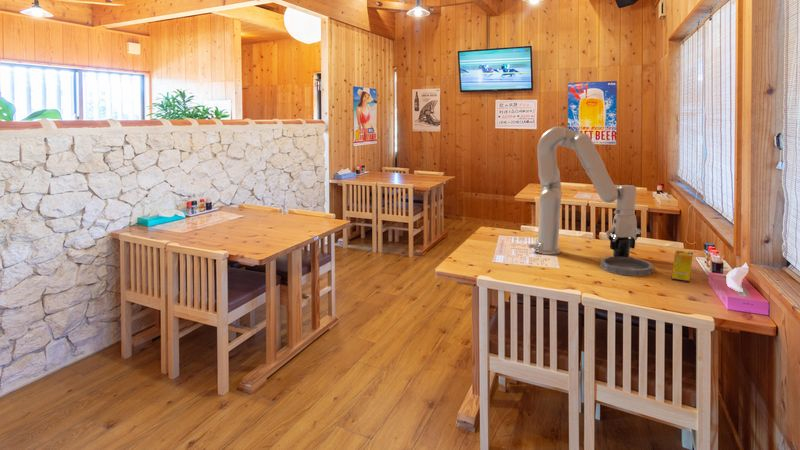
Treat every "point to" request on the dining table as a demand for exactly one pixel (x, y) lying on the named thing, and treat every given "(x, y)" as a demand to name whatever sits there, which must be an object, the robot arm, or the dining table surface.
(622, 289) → the dining table surface
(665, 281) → the dining table surface
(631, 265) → the round tray
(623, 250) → the supplement bottle
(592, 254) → the dining table surface
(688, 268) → the supplement box
